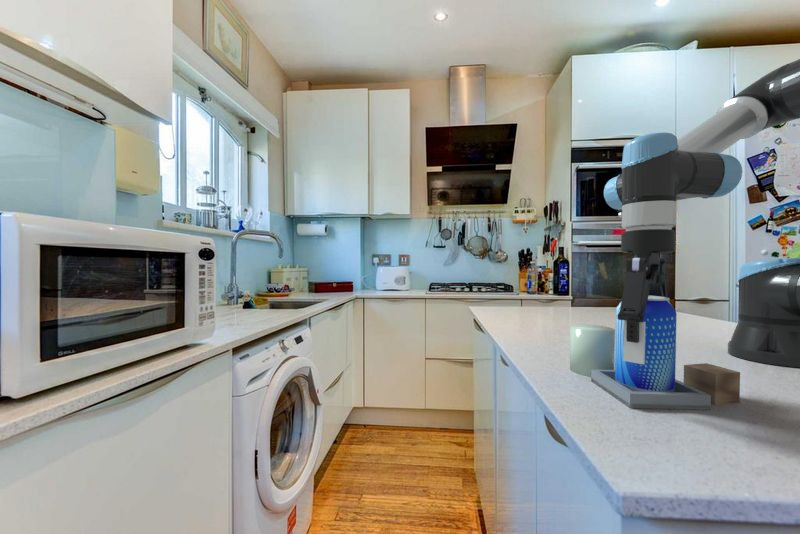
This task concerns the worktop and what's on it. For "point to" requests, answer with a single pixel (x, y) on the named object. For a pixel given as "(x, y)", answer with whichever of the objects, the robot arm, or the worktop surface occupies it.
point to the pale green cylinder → (591, 348)
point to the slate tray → (652, 394)
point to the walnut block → (714, 382)
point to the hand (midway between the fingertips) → (645, 354)
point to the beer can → (650, 350)
